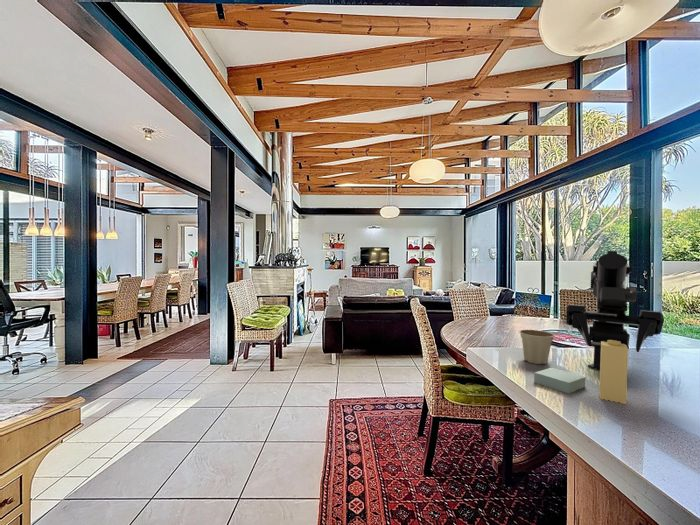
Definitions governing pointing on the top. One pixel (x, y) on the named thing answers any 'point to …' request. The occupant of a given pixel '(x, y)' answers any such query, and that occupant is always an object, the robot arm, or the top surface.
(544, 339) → the flower pot
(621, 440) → the top surface
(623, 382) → the tower brick
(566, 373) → the plinth brick
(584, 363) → the top surface
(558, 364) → the top surface
